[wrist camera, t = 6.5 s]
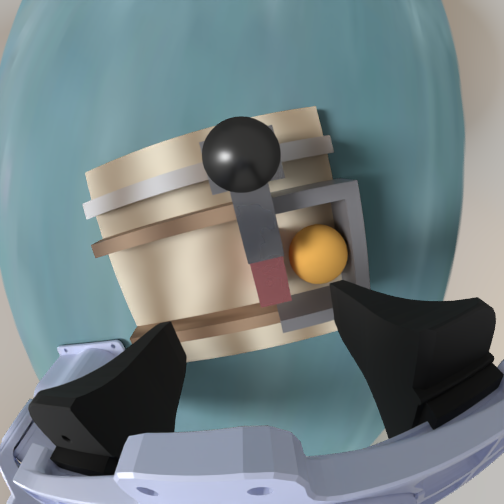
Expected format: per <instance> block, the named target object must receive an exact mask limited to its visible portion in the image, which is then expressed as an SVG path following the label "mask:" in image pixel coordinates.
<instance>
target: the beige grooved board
mask: <svg viewBox="0 0 504 504" xmlns="http://www.w3.org/2000/svg"><path fill="white" fill-rule="evenodd" d="M250 118H254V119H257V120H259V121H261V122H263V123H264V124H266V125H267V126H268V125H272V126H273V130H274V134H275V135H276V137H277V139H278V142H279V145H280V150H281V162H282V167H283V171H284V175H285V178H283V179H278V180H274V181H269V182H268V184H269V188H270V192H274V191H279V190H283V189H288V188H293V187H297V186H302V185H307V184H312V183H317V182H322V181H327V180H332V179H333V178H332V173H331V168H330V163H329V159H328V153H333V152H334V151H333V146H332V142H331V138H330V135H327V136H323V133H322V129H321V125H320V121H319V117H318V113H317V109H316V106H313V107H306V108H299V109H293V110H287V111H281V112H275V113H270V114H265V115H260V116H255V117H250ZM214 127H215V126H213V127H210V128H206V129H202V130H199V131H195V132H192V133H189V134H185V135H182V136H179V137H176V138H173V139H170V140H166V141H163V142H161V143H158V144H155V145H152V146H149V147H146V148H144V149H141V150H138V151H136V152H133V153H130V154H128V155H125V156H123V157H120V158H118V159H115V160H113V161H111V162H108V163H106V164H104V165H101V166H99V167H97V168H95V169H92V170H90V171H88V172H86V173H85V175H86V179H87V183H88V187H89V191H90V195H91V199H92V200H91V201H88V202H86V203H84V204H83V208H84V212H85V215H86V219H89V218H92V217H94V216H96V217H97V221H98V224H99V227H100V230H101V234H102V237H103V239H102V240H100V241H98V242H96V243H94V244H93V245H91V247H92V250H93V253H94V255H95V258H98V257H101V256H104V255H109V258H110V260H111V263H112V266H113V269H114V271H115V274H116V277H117V279H118V282H119V284H120V287H121V289H122V292H123V294H124V297H125V299H126V302H127V304H128V306H129V309H130V311H131V313H132V315H133V318H134V320H135V322H136V324H137V328H136V329H135V331H134V332H133V334H132V336H131V337H130V340H131V342H132V344H133V343H134V342H136V341H137V340H138V339H139V338H140V337H142V336H143V335H144V334H145V333H147V332H148V331H149V330H150V329H152V328H153V327H154V326H156V325H157V324H159V323H164V322H169V321H171V322H172V325H173V327H174V329H175V332H176V334H177V336H178V338H179V340H180V343H181V345H182V347H183V349H184V351H185V353H186V356H187V361H186V362H192V361H199V360H205V359H212V358H218V357H224V356H230V355H235V354H240V353H246V352H251V351H256V350H261V349H265V348H270V347H274V346H279V345H283V344H288V343H292V342H296V341H300V340H304V339H308V338H312V337H316V336H319V335H323V334H327V333H330V332H334V331H337V330H338V329H337V327H336V324H335V321H334V320H332V321H329V322H325V323H322V324H318V325H314V326H310V327H306V328H302V329H298V330H294V331H290V332H286V333H283V330H282V326H281V322H280V317H279V313H278V309H277V304H275V305H271V306H267V307H262V308H261V306H260V302H259V298H258V294H257V290H256V286H255V282H254V278H253V274H252V271H251V267H250V264H248V261H247V258H246V254H245V250H244V246H243V242H242V238H241V234H240V230H239V226H238V222H237V218H236V214H235V211H234V207H233V203H232V199H231V195H230V191H227V192H223V193H220V194H216V195H212V192H211V188H210V184H209V180H208V177H207V173H206V171H205V169H204V166H203V162H202V153H201V149H200V145H199V142H202V141H205V139H206V137H207V135H208V134H209V132H210V131H211V130H212V129H213V128H214ZM275 215H276V219H277V224H278V228H279V233H280V237H281V242H282V247H283V251H284V256H283V260H284V265H285V269H286V274H287V279H288V284H289V289H290V294H291V295H294V294H298V293H302V292H306V291H310V290H314V289H318V288H321V287H325V286H329V283H333V282H336V281H340V280H342V275H341V274H340V275H339V276H338V277H337V278H335V279H334V280H332V281H330V282H328V283H324V284H312V283H309V282H306V281H304V280H303V279H301V278H300V277H299V276H298V275H297V274H296V273H295V272H294V271H293V269H292V267H291V264H290V261H289V247H290V244H291V241H292V239H293V238H294V236H295V235H296V234H297V233H298V232H299V231H300V230H302V229H303V228H305V227H307V226H310V225H314V224H322V225H327V226H330V227H332V228H333V229H335V225H334V219H333V213H332V208H331V202H329V203H325V204H320V205H315V206H311V207H306V208H302V209H297V210H293V211H288V212H284V213H280V214H275Z"/></svg>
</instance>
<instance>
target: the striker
mask: <svg viewBox="0 0 504 504" xmlns="http://www.w3.org/2000/svg"><path fill="white" fill-rule="evenodd" d="M199 145H200V149H201V153H202V162H203V166H204V169H205V171H206V173H207V177H208V180H209V184H210V188H211V192H212V195H216V194H220V193H223V192H227V191H230V195H231V199H232V203H233V207H234V211H235V214H236V218H237V222H238V226H239V230H240V234H241V238H242V242H243V246H244V250H245V254H246V258H247V261H248V264H250V267H251V271H252V274H253V278H254V282H255V286H256V290H257V294H258V298H259V302H260V306H261V308H262V307H267V306H271V305H275V304H280V303H284V302H288V301H292V299H291V294H290V289H289V284H288V279H287V274H286V269H285V265H284V260H283V256H284V251H283V247H282V242H281V237H280V233H279V228H278V224H277V219H276V215H275V210H274V206H273V201H272V197H271V193H270V188H269V184H268V182H269V181H274V180H278V179H283V178H285V175H284V171H283V167H282V162H281V150H280V145H279V142H278V139H277V137H276V135H275V134H274V130H273V126H272V125H268V126H267V125H266V124H264V123H263V122H261V121H259V120H257V119H254V118H250V117H233V118H229V119H226V120H224V121H222V122H220V123H219V124H217V125H216V126H215V127H214V128H213V129H212V130H211V131H210V132H209V134H208V135H207V137H206V139H205V141H202V142H199Z"/></svg>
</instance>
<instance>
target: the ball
mask: <svg viewBox="0 0 504 504" xmlns="http://www.w3.org/2000/svg"><path fill="white" fill-rule="evenodd" d="M347 258H348V250H347V245H346V243H345V241H344V239H343V237H342V236H341V234H340V233H339V232H338V231H336V230H335V229H333V228H332V227H330V226H327V225H322V224H314V225H310V226H307V227H305V228H303V229H302V230H300V231H299V232H298V233H297V234H296V235H295V236H294V238H293V239H292V241H291V244H290V247H289V261H290V264H291V267H292V269H293V271H294V272H295V273H296V274H297V275H298V276H299V277H300V278H301V279H303V280H304V281H306V282H309V283H312V284H324V283H328V282H330V281H332V280H334V279H335V278H337V277H338V276H339V275H340V274H341V272H342V271H343V270H344V268H345V265H346V263H347Z"/></svg>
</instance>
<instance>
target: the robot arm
mask: <svg viewBox="0 0 504 504" xmlns="http://www.w3.org/2000/svg"><path fill="white" fill-rule="evenodd" d="M329 285H330V292H331V298H332V306H333V313H334V321H335V324H336V327H337V329H338V332H339V334H340V336H341V338H342V340H343V342H344V344H345V345H346V347H347V348H348V350H349V352H350V353H351V355H352V357H353V358H354V360H355V361H356V363H357V365H358V366H359V368H360V370H361V371H362V373H363V375H364V377H365V379H366V381H367V383H368V385H369V387H370V390H371V392H372V394H373V397H374V399H375V402H376V404H377V407H378V409H379V412H380V415H381V418H382V420H383V423H384V426H385V429H386V432H387V435H388V438H389V439H388V440H385V441H383V442H380V443H378V444H375V445H372V446H370V447H367V448H364V449H360V450H355V451H349V452H342V453H335V454H327V455H319V456H308V457H306V456H305V454H304V452H303V448H302V444H301V442H300V441H299V440H298V439H297V438H296V437H295V435H294V434H293V433H292V432H290V431H286V430H283V429H279V428H275V427H271V426H268V425H266V426H240V427H233V428H225V429H216V430H205V431H192V432H174V429H175V418H176V412H177V408H178V403H179V399H180V395H181V391H182V387H183V382H184V378H185V373H186V361H187V356H186V353H185V351H184V349H183V347H182V345H181V343H180V340H179V338H178V336H177V334H176V332H175V329H174V327H173V325H172V322H171V321H169V322H164V323H159V324H157V325H156V326H154V327H153V328H152V329H150V330H149V331H148V332H147V333H145V334H144V335H143V336H142V337H140V338H139V339H138V340H137V341H136V342H134V343H133V344H132V345H131V346H130V347H128V348H127V349H125V348H124V346H123V344H122V342H121V341H119V340H111V341H103V342H94V343H84V344H73V345H62V346H58V348H57V350H58V352H59V354H60V357H59V358H58V359H57V360H56V361H55V363H54V364H53V365H52V366H51V368H50V369H49V370H48V371H47V373H46V374H45V375H44V376H43V378H42V379H41V380H40V382H39V383H38V384H37V386H36V388H35V392H34V398H33V399H29V400H28V402H27V403H26V405H25V406H24V407H23V409H22V410H21V412H20V413H19V415H18V416H17V417H16V419H15V420H14V422H13V423H12V425H11V426H10V427H9V429H8V431H7V432H6V434H5V435H4V437H3V438H2V443H1V444H0V472H1V474H2V476H3V478H4V480H5V482H6V484H7V486H8V488H9V489H10V491H11V495H10V497H9V499H8V501H7V503H6V504H435V503H436V502H438V501H440V500H441V499H443V498H445V497H446V496H448V495H449V494H451V493H452V492H454V491H455V490H457V489H458V488H460V487H461V486H463V485H464V484H465V483H467V482H468V481H469V480H471V479H472V478H474V477H475V476H476V475H478V474H479V473H480V472H481V471H483V470H484V469H485V468H486V467H488V466H489V465H490V464H491V463H492V462H493V461H495V460H496V459H497V458H498V457H499V456H500V455H502V454H503V453H504V360H503V361H502V362H501V363H500V364H499V366H498V367H496V366H495V365H494V364H493V363H492V362H493V361H494V356H493V355H492V354H491V353H489V349H490V345H491V342H492V338H493V334H494V330H495V324H496V318H495V312H494V310H493V308H492V307H490V306H489V305H488V304H486V303H485V302H484V301H482V300H481V299H479V298H477V297H476V298H470V299H463V300H455V301H420V300H410V299H405V298H399V297H394V296H390V295H386V294H383V293H379V292H376V291H373V290H370V289H367V288H365V287H362V286H359V285H357V284H354V283H351V282H348V281H345V280H340V281H336V282H333V283H329ZM113 345H115V346H113ZM16 458H17V459H18V460H19V461H20V462H21V464H20V463H19V462H18V461H17V459H16Z"/></svg>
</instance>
